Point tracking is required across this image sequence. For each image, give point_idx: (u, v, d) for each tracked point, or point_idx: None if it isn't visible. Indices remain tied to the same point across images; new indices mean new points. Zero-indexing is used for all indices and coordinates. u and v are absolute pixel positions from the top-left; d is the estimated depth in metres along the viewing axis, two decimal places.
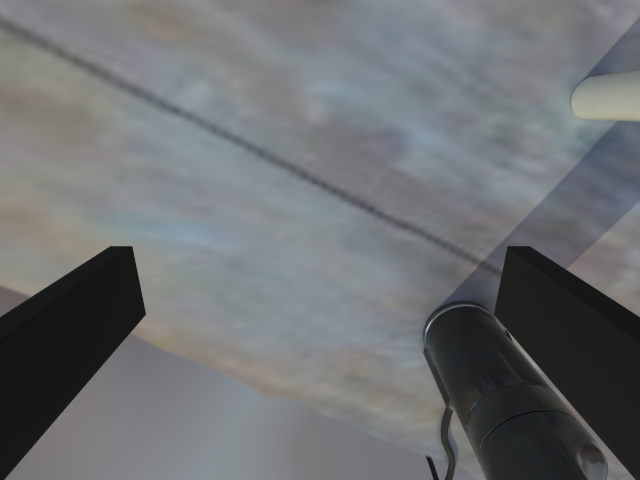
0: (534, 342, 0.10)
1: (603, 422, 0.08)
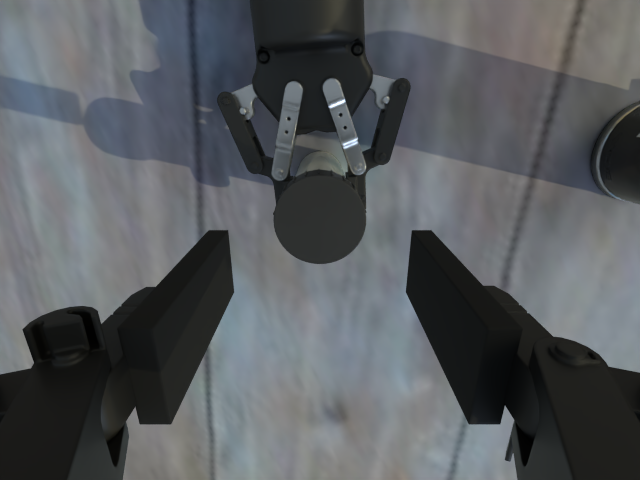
0: (423, 311, 0.12)
1: (451, 370, 0.09)
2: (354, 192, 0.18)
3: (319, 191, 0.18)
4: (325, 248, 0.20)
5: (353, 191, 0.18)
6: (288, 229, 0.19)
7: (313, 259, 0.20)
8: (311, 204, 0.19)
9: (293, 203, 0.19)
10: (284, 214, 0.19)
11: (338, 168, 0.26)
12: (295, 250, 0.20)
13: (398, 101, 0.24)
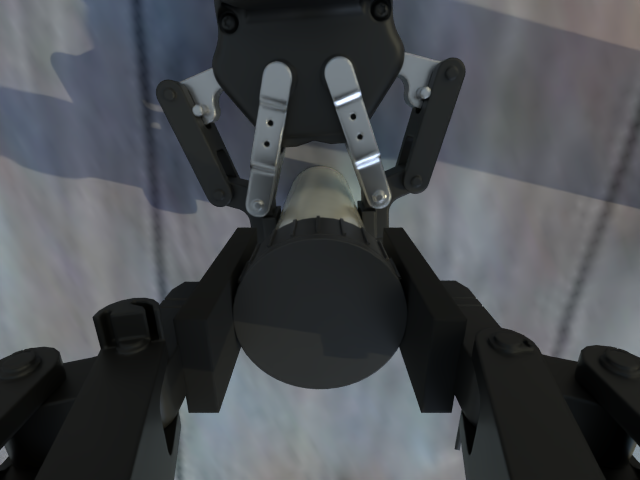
0: None
1: (409, 361, 0.10)
2: (387, 269, 0.09)
3: (320, 267, 0.09)
4: (330, 364, 0.11)
5: (385, 267, 0.09)
6: (261, 333, 0.10)
7: (307, 382, 0.11)
8: (303, 290, 0.10)
9: (269, 288, 0.10)
10: (252, 307, 0.10)
11: (348, 197, 0.17)
12: (275, 368, 0.11)
13: (445, 95, 0.15)
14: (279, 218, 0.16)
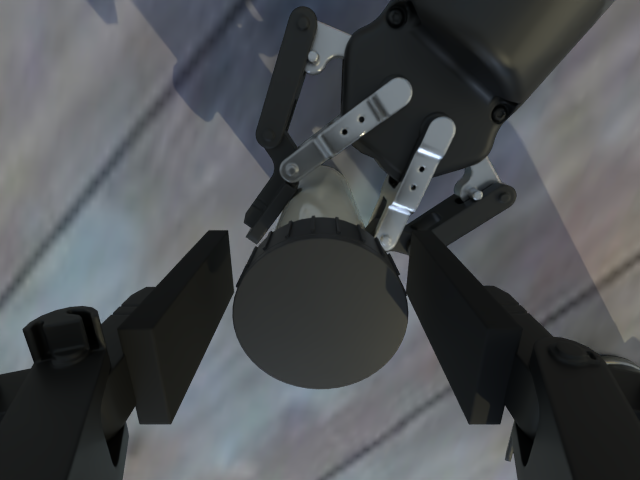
0: (423, 312, 0.12)
1: (451, 369, 0.09)
2: (313, 241, 0.09)
3: (272, 289, 0.10)
4: (369, 340, 0.10)
5: (310, 241, 0.09)
6: (297, 366, 0.11)
7: (371, 367, 0.11)
8: (283, 313, 0.10)
9: (262, 335, 0.10)
10: (270, 356, 0.10)
11: None
12: (336, 379, 0.11)
13: (487, 208, 0.17)
14: (304, 196, 0.16)
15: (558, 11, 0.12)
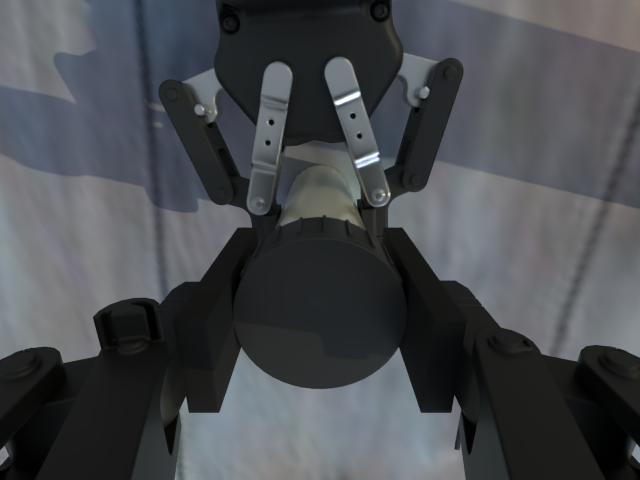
0: None
1: (409, 361, 0.10)
2: (255, 266, 0.09)
3: (262, 323, 0.10)
4: (374, 307, 0.10)
5: (253, 267, 0.09)
6: (338, 368, 0.11)
7: (398, 327, 0.10)
8: (287, 335, 0.10)
9: (289, 362, 0.11)
10: (310, 374, 0.11)
11: (347, 196, 0.18)
12: (379, 356, 0.10)
13: (443, 95, 0.15)
14: (280, 216, 0.16)
15: None
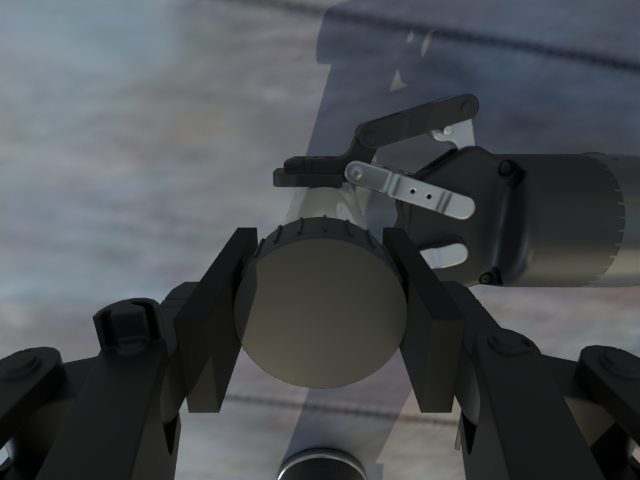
0: None
1: (409, 361, 0.10)
2: (255, 265, 0.09)
3: (262, 323, 0.10)
4: (374, 307, 0.10)
5: (254, 267, 0.10)
6: (338, 367, 0.11)
7: (398, 327, 0.10)
8: (288, 335, 0.10)
9: (289, 361, 0.11)
10: (311, 373, 0.11)
11: None
12: (379, 355, 0.10)
13: None
14: (348, 197, 0.17)
15: (573, 266, 0.17)
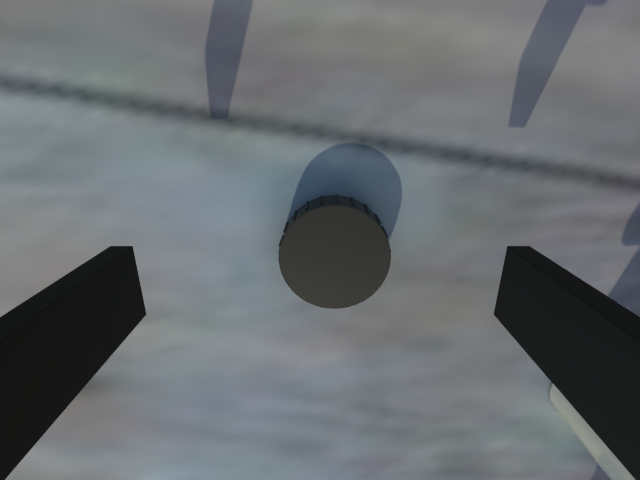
0: (534, 342, 0.10)
1: (604, 422, 0.08)
2: (294, 223, 0.15)
3: (297, 261, 0.16)
4: (369, 251, 0.16)
5: (293, 224, 0.15)
6: (345, 293, 0.16)
7: (384, 265, 0.16)
8: (313, 270, 0.16)
9: (314, 289, 0.16)
10: (327, 297, 0.16)
11: None
12: (372, 285, 0.16)
13: None
14: None
15: None
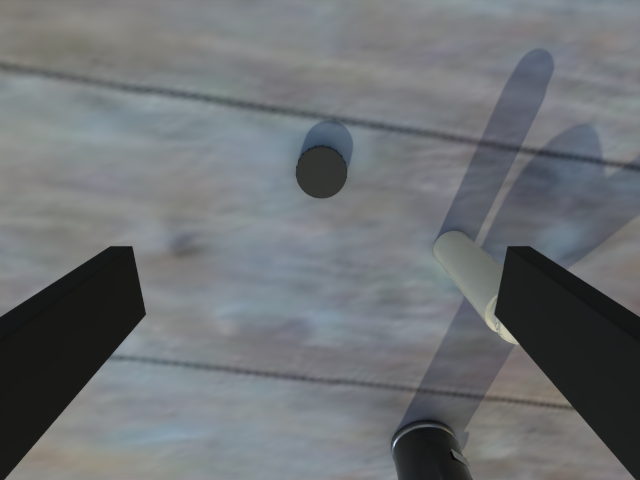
0: (534, 342, 0.10)
1: (604, 422, 0.08)
2: (303, 156, 0.34)
3: (304, 174, 0.35)
4: (337, 169, 0.35)
5: (303, 156, 0.34)
6: (327, 190, 0.35)
7: (344, 176, 0.35)
8: (312, 178, 0.35)
9: (312, 188, 0.35)
10: (318, 192, 0.35)
11: None
12: (339, 186, 0.35)
13: None
14: None
15: None
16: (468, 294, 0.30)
